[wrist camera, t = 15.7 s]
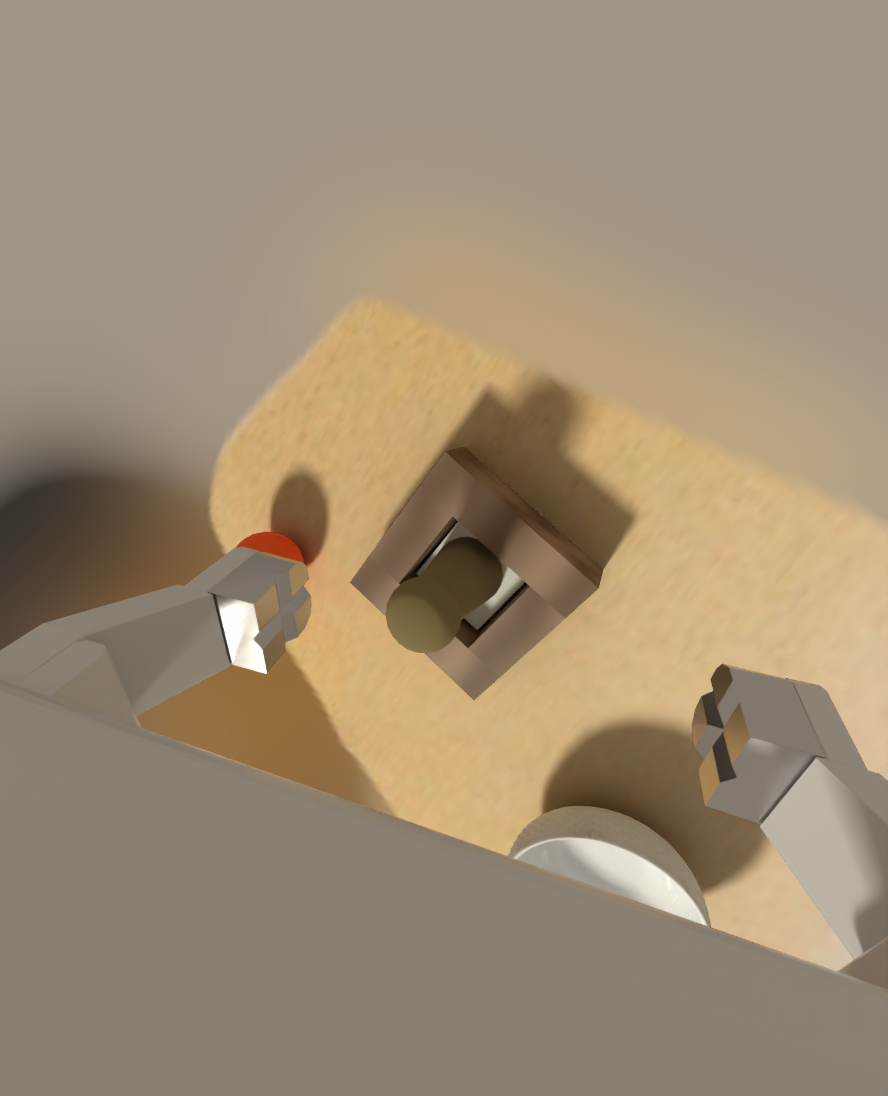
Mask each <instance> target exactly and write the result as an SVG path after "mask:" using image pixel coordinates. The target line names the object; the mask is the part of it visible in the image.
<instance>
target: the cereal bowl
mask: <svg viewBox="0 0 888 1096" xmlns="http://www.w3.org/2000/svg"><path fill="white" fill-rule="evenodd" d="M508 857H511V858H514V859H517V860H520V861H523V862H526V863H528V864H531V865H534V866H537V867H540V868H543V869H546V870H548V871H551V872H554V873H557V874H560V875H563V876H566V877H568V878H571V879H574V880H577V881H580V882H583V883H586V884H588V885H591V886H594V887H597V888H600V889H603V890H606V891H608V892H611V893H614V894H617V895H620V896H623V897H626V898H628V899H631V900H634V901H637V902H640V903H643V904H646V905H648V906H651V907H654V908H657V909H660V910H663V911H666V912H668V913H671V914H674V915H677V916H680V917H683V918H686V919H688V920H691V921H694V922H697V923H700V924H703V925H706V926H708V927H711V925H710V919H709V916H708V910H707V907H706V904H705V900H704V897H703V895H702V892H701V889H700V887H699V885H698V882H697V880H696V879H695V877H694V875H693V873H692V871H691V870H690V869H689V867H688V866H687V864H686V862H685V861H684V860H683V859H682V858H681V856H680V855H679V854H678V852H677V851H676V850H674V848H673V847H672V846H671V845H670V844H669V843H668V842H667V841H666V840H664V839H663V838H662V837H661V836H660V835H658V834H657V833H656V832H655V831H654V830H652V829H651V828H649V827H648V826H646V825H644V824H642V823H641V822H639V821H637V820H634V819H633V818H631V817H629V816H626V815H623V814H621V813H619V812H615V811H611V810H609V809H603V808H598V807H592V806H569V807H568V806H567V807H561V808H559V809H554V810H552V811H550V812H546V813H545V814H543V815H541V816H539V817H538V818H536V819H535V820H533V821H532V822H531V823H529V824H528V825H527V826H526V827H525V828H524V829H523V830H522V832H521V833H520V834H519V835H518V837H517V839H516V841H515V842H514V844H513V846H512V848H511V851H510V853H509V855H508Z"/></svg>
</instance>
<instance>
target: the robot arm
mask: <svg viewBox="0 0 888 1096" xmlns="http://www.w3.org/2000/svg"><path fill="white" fill-rule="evenodd" d="M308 580H309V576H308V569H307V566H306V565H305V564H304V563H302V562H300V561H296V560H292V559H288V558H285V557H281V556H277V555H273V554H270V553H266V552H260V551H257V550H253V549H249V548H246V547H237V548H234V549H233V550H231V551H230V552H229V553H227V554H226V555H225V556H223V557H222V558H221V559H219V560H218V561H217V562H216V563H214V564H213V565H211V566H210V567H209V568H207V569H206V570H205V571H204V572H202V573H201V574H199V575H198V576H197V577H196V578H194V579H193V580H192V581H190V582H189V583H188V584H187V585H185V586H180V585H175V586H172V587H168V588H164V589H161V590H158V591H154V592H151V593H147V594H144V595H140V596H137V597H133V598H130V599H127V600H123V601H119V602H116V603H113V604H109V605H106V606H102V607H99V608H95V609H92V610H88V611H85V612H81V613H78V614H74V615H71V616H68V617H64V618H61V619H57V620H54V621H50V622H47V623H43V624H41V625H40V626H38V627H37V628H35V629H34V630H32V631H30V632H29V633H27V634H26V635H24V636H23V637H21V638H19V639H18V640H16V641H15V642H13V643H12V644H10V645H8V646H7V647H5V648H4V649H2V650H1V651H0V1096H888V781H887V780H886V779H885V778H884V777H883V776H881V775H880V774H878V773H875V772H871V771H868V770H867V768H866V766H865V764H864V762H863V760H862V758H861V756H860V754H859V752H858V750H857V748H856V746H855V744H854V743H853V741H852V739H851V737H850V735H849V733H848V731H847V729H846V727H845V725H844V723H843V721H842V719H841V717H840V715H839V714H838V712H837V710H836V708H835V706H834V704H833V702H832V700H831V698H830V696H829V694H828V692H827V691H826V690H825V689H824V688H822V687H821V686H820V685H815V684H811V683H806V682H801V681H797V680H792V679H788V678H786V679H784V678H780V677H776V676H772V675H767V674H763V673H759V672H755V671H750V670H746V669H742V668H738V667H734V666H729V665H725V664H721V665H720V666H719V667H718V668H717V669H716V670H715V672H714V674H713V676H712V678H711V683H712V687H713V691H712V692H710V693H707V694H705V695H703V696H701V698H700V700H699V702H698V704H697V707H696V709H695V713H694V718H693V723H692V737H693V743H694V748H695V749H696V750H697V752H698V753H699V754H700V755H701V756H702V758H703V759H704V761H703V763H702V765H701V766H700V768H699V770H698V772H699V777H700V783H701V788H702V793H703V799H704V804H705V806H707V807H710V808H713V809H716V810H719V811H722V812H725V813H728V814H731V815H734V816H737V817H740V818H743V819H746V820H749V821H752V822H755V823H758V824H761V825H760V828H761V829H762V830H763V832H764V833H765V835H766V836H767V838H768V839H769V840H770V842H771V843H772V845H773V846H774V847H775V849H776V850H777V852H778V853H779V855H780V856H781V857H782V859H783V860H784V862H785V863H786V864H787V866H788V867H789V869H790V870H791V872H792V873H793V874H794V876H795V877H796V879H797V880H798V881H799V883H800V884H801V886H802V887H803V889H804V890H805V891H806V893H807V894H808V896H809V897H810V898H811V900H812V901H813V903H814V904H815V906H816V907H817V908H818V910H819V911H820V913H821V914H822V915H823V917H824V918H825V920H826V921H827V923H828V924H829V925H830V927H831V928H832V930H833V931H834V932H835V934H836V935H837V937H838V938H839V940H840V941H841V942H842V944H843V945H844V947H845V948H846V949H847V951H848V952H849V954H850V955H851V957H852V958H853V959H854V960H853V961H852V962H850V963H849V964H847V965H846V966H844V967H843V968H842V969H840V970H839V971H834V970H831V969H828V968H825V967H822V966H820V965H817V964H814V963H811V962H808V961H805V960H802V959H800V958H797V957H794V956H791V955H788V954H785V953H782V952H780V951H777V950H774V949H771V948H768V947H765V946H763V945H760V944H757V943H754V942H751V941H748V940H745V939H743V938H740V937H737V936H734V935H731V934H728V933H725V932H723V931H720V930H717V929H714V928H711V927H708V926H706V925H703V924H700V923H697V922H694V921H691V920H688V919H686V918H683V917H680V916H677V915H674V914H671V913H668V912H666V911H663V910H660V909H657V908H654V907H651V906H648V905H646V904H643V903H640V902H637V901H634V900H631V899H628V898H626V897H623V896H620V895H617V894H614V893H611V892H608V891H606V890H603V889H600V888H597V887H594V886H591V885H588V884H586V883H583V882H580V881H577V880H574V879H571V878H568V877H566V876H563V875H560V874H557V873H554V872H551V871H548V870H546V869H543V868H540V867H537V866H534V865H531V864H528V863H526V862H523V861H520V860H517V859H514V858H511V857H508V856H506V855H503V854H500V853H497V852H494V851H491V850H488V849H486V848H483V847H480V846H477V845H474V844H471V843H468V842H466V841H463V840H460V839H457V838H454V837H451V836H448V835H446V834H443V833H440V832H437V831H434V830H431V829H428V828H426V827H423V826H420V825H417V824H414V823H411V822H409V821H406V820H403V819H400V818H397V817H394V816H391V815H388V814H385V813H383V812H380V811H377V810H374V809H371V808H369V807H366V806H363V805H360V804H357V803H354V802H351V801H349V800H346V799H343V798H340V797H337V796H334V795H332V794H329V793H326V792H323V791H320V790H317V789H314V788H312V787H309V786H306V785H303V784H300V783H297V782H294V781H292V780H289V779H286V778H283V777H280V776H277V775H274V774H271V773H269V772H266V771H263V770H260V769H257V768H254V767H252V766H249V765H246V764H243V763H240V762H237V761H235V760H232V759H229V758H226V757H223V756H220V755H218V754H215V753H212V752H209V751H206V750H203V749H200V748H198V747H195V746H192V745H189V744H186V743H183V742H180V741H178V740H175V739H172V738H169V737H166V736H163V735H160V734H157V733H155V732H152V731H149V730H146V729H143V728H142V727H141V725H140V723H139V721H138V719H137V715H139V714H141V713H143V712H145V711H146V710H149V709H150V708H152V707H154V706H156V705H158V704H160V703H162V702H164V701H165V700H167V699H169V698H171V697H173V696H175V695H177V694H179V693H180V692H182V691H184V690H186V689H188V688H190V687H192V686H194V685H195V684H197V683H199V682H201V681H203V680H205V679H207V678H209V677H211V676H212V675H214V674H216V673H218V672H220V671H222V670H224V669H225V668H227V667H229V666H230V664H232V665H237V666H240V667H244V668H247V669H251V670H255V671H258V672H262V673H266V674H267V673H268V672H269V671H270V670H271V668H272V667H273V666H274V665H275V664H276V662H277V661H278V660H279V659H280V658H281V657H282V655H283V654H284V653H285V652H286V648H285V642H287V641H290V640H292V639H294V638H297V637H298V636H299V635H300V633H301V632H302V631H303V630H304V628H305V627H306V624H307V622H308V619H309V617H310V613H311V606H312V604H311V595H310V594H309V593H308V591H307V590H306V589H305V587H304V584H305V583H306V582H307V581H308Z"/></svg>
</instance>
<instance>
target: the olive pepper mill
mask: <svg viewBox="0 0 888 1096" xmlns="http://www.w3.org/2000/svg"><path fill="white" fill-rule="evenodd" d="M502 577H503V572H502V564H501V562H500V560H499V558H498V557H497V556H496V555H495V554H494V553H492V552H491V551H490V550H489V549H488V548H487V547H486V546H485V545H484V544H483V543H481V542H480V541H479V540H478V539H475V538H471V537H458V538H456V539H453V540H451V541H449V542H448V543H447V544H446V545H445V546H443V547H442V548H441V550H440V551H439V552H438V554H437V555H436V556H435V557H434V559H433V560H432V561H431V563H430V564H429V565H428V566H427V568H426V569H425V570H424V572H423V573H422V574H421V575H420V577H416V578H412V579H410V580H407V581H405V582H403V583H402V584H401V585H399V586H398V587H397V588H396V589H395V590H394V591H393V593H392V594H391V596H390V598H389V601H388V603H387V607H386V620H387V625H388V628H389V630H390V632H391V634H392V636H393V637H394V638H395V639H396V640H397V642H398V643H399V644H401V645H402V646H404V647H405V648H406V649H408V650H411V651H414V652H418V653H432V652H436V651H439V650H441V649H443V648H444V647H445V646H447V645H448V644H449V643H451V642H452V640H453V639H454V637H455V636H456V634H457V632H458V631H459V628H460V624H461V620H462V619H463V618H465V617H466V616H467V615H469V614H470V613H471V612H473V611H474V610H475V609H477V608H478V607H479V606H481V605H482V604H484V603H485V602H486V601H488V600H489V599H490V598H491V597H493V596H494V595H495V594H496V593H497V591H498V589H499V588H500V586H501V582H502Z"/></svg>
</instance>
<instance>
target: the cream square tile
mask: <svg viewBox="0 0 888 1096" xmlns="http://www.w3.org/2000/svg"><path fill="white" fill-rule="evenodd" d="M458 537H471V538H475V539H477V538H476V537H475V536H474V535H473V534H472V533H470V532H469V531H468V530H467V529H466V528H465V527H464V526H463V525H462V524H460V523H459V522H458V523H457V524H456V525H455V527H454V528H453V529H452V530H451V532H450V533H449V534H448V535H447V536H446V538H445V539H444V540H443V541H442V543H441V544H440V545H439V546H438V547H437V549H436V550H435V551H434V552H433V554H432V555H431V556H430V557H429V558H428V560H427V561H426V562H425V563H424V565H423V566H422V567H421V568H420V570H419V571H418V572H417V573H416V574H417V575H418V576H419V577H420V575H421V574H422V573H423V572H424V570H425V569H426V568H427V566H428V565H429V564H430V563H431V561H432V560H433V559H434V557H435V556H436V555H437V554H438V552H439V551H440V550H441V548H442V547H443V546H445V545H446V544H447V543H448V542H449V541H451V540H453V539H456V538H458ZM499 560H500V559H499ZM500 562H501V564H502V572H503V577H502V582H501V586H500V588H499V589H498V591H497V593H496V594H495V595H494V596H493V597H491V598H490V599H489V600H488V601H486V602H485V603H484V604H482V605H481V606H479V607H478V608H477V609H475V610H474V611H473V612H471V613H470V614H469V615H467V616H466V617H465V619H466V620H467V621H468V622H469V623H470V624H471V625H472V626H473V627H474V628H475V629H476V630H478V629H479V628H480V627H481V626H482V625H483V624H484V623H485V622H486V621H487V620H488V619H489V618H490V617H491V616H492V615H493V614H494V613H495V612H496V611H497V610H498V609H499V608H500V607H501V606H502V605H503V604H504V603H505V602H506V601H507V600H508V599H509V598H510V597H511V596H512V595H513V594H514V593H515V592H516V591H517V590H518V589H519V588H520V587H521V586H522V585H523V584H524V583H525V582H524V581H523V580H522V579H521V578H520V577H519V576H518V575H517V574H516V573H515V572H513V571H512V570H511V569H510V568H509V567H508V566H507V565H506V564H505V563H504V562H502V561H501V560H500Z"/></svg>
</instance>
